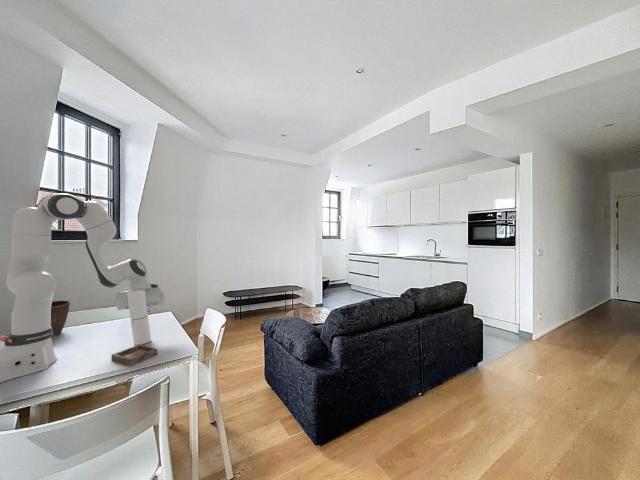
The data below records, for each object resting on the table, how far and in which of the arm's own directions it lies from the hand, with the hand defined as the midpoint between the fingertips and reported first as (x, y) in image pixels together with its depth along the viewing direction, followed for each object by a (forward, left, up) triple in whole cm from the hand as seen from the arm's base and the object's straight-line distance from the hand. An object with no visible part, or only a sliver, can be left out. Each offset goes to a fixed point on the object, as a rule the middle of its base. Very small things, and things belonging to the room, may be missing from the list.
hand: (143, 313), depth 136 cm
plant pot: (-14, +53, -15) cm, 56 cm away
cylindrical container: (0, +1, -14) cm, 14 cm away
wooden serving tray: (-12, -12, -14) cm, 22 cm away
